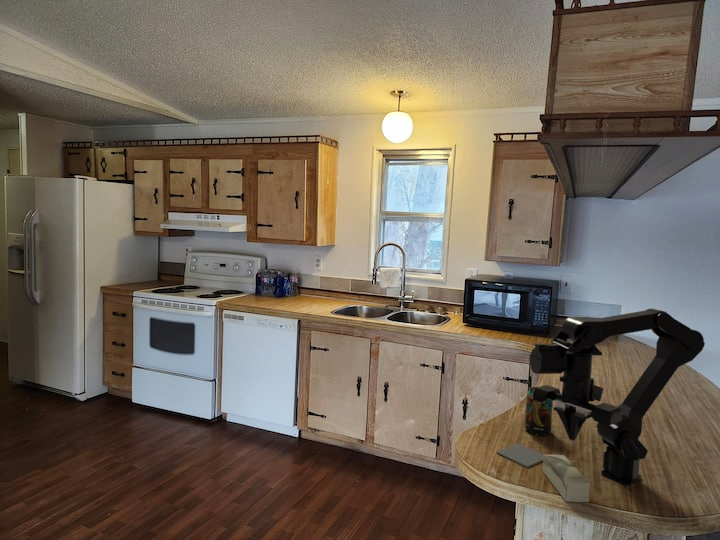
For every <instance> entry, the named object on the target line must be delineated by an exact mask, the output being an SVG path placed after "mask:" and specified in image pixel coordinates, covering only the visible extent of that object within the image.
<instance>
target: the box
mask: <svg viewBox="0 0 720 540" xmlns="http://www.w3.org/2000/svg"><path fill="white" fill-rule="evenodd" d="M542 472H543V473H544V475H545V476H546V478H547V479H548V480H549V481H550V482H551V484H552V486H554V488H555V489H556V490H557V492H558V493H559V495H560V496H561V497H562V498H563V500H564V501H565V502H567V503H589V502H590V494H591V491H590V490H591V483H590V482H589V481H588V480H587V479H586V478H585V477H584V475H582V473H581V472H580V471H579V470H578V469H577V468H576V467H575V466H574V465H573V463H572V462H571V461H570V460H569V459H568V457H566V456H565V455H564V454H563V455H562V454H544V459H543V461H542Z"/></svg>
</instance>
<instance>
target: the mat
mask: <svg viewBox="0 0 720 540" xmlns="http://www.w3.org/2000/svg"><path fill="white" fill-rule="evenodd" d="M497 453H499V454H500V455H499V454H498V455H499V456H501V455H502V457H503V456H504V458H506V459H508V460H509V461H512V462H514V463H516V464H519V465H520V466H523V467H524V468H527V469H528V468H531V467H533V466H535V465H537V464H539V463H543V459H544V455H545V454H543V453H541V452H538V451H537V450H534V449H532V448H529V447H528V446H525V445H523V444H521V443H515V444H513V445H510V446H508V447H506V448H503V449H500V450H498V451H496V454H497Z"/></svg>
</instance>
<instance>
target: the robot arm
mask: <svg viewBox="0 0 720 540" xmlns="http://www.w3.org/2000/svg"><path fill="white" fill-rule="evenodd" d="M648 330H649V331H650V330H651V332H652V333H653V334H655V335H656V336H657V337H658V338H657V341H656V346H655V348H656V349H655V351H656V352H655V356H654V357H653V359H652V360H651V361H650V363H649V364H648V366H647V367H646V369H645V370H644V371H643V373H642V375H641V376H640V377H639V378H638V380H637V382H636V383H635V384H634V386H633V387H632V389H630V391H629V393H628V394H627V396H626V397H625V398H624V399H623V401H622V403H621V404H620V405H618V406H617V405H616V406H615V405H612V404H609V403H606V402H602V403H600V404H592V403H593V402H596V401H597V402H601V400H602V396H603V393H604V388H603V387H601V386H598V385H596V384H595V381H594V378H593V377H592V366H593V356H602V355H603V351H601V350H600V349H598V347H597V346H596V345H599V344H601V343H603V342H604V341H606V339H608V338H611V337H614V336H621V335H626V334H631V333H638V332H644V331H648ZM704 338H705V337H704V336H703V334H702V333H701V332H700V331H699V330H696V329H693V328H690V327H689V326H687V325H686V324H684V323H682V322H680V321H679V320H677V319H676V318H674V317H673V316H672V315H670V314H669V313H668V312H666V311H664V310H661V309H656V308H647V309H645V310H642V311H639V310H638V311H635V312H629V313H624V314H623V313H622V314H618V315H611V316H605V317H591V316H570V317H567V318H566V319H565V321H564V322H563V325H562V327H561V329H560V330H559V331H558V332H557V333H556V334H555V336H554V337H553V339H552V340H551V341H550V343H542V342H535V344H534V348H533V349H532V350H531V352H530V354H529V356H528V357H529V359H528V360H529V361H528V362H529V365H530V366H529V367H530V370H531V372H533V373H534V374H536V375H538V374H540V375H541V374H543V375H547V374H550V375H555V374H556V375H560V374H562V375H561V376H559V382H561V383H562V387H561V390H560V389H559V388H557V387H554V386H551V385H548V384H544V385H541V386H536V387H537V388H535V389H534V390H533V392H532V399H533V400H535V401H538V402H541V403H543V402H545V401H546V400H547V399H550V400H553V402H555V407H553V410H554V411H556V413H557V415H558V416H559V418H560V421H561V423H562V425H563V427H564V429H565V433H566V435H567V437H568V439H569V440H570V441H573V442H574V441H576V439H577V437H578V435H579V433H580V431H581V429H582V427H583V425H584V424H585V422H587V421H586V420H588V419H593V421H594V422H596V423H597V425H596V428H597V429H596V430H597V434H598V435H599V437H600V438H601V440H602V443H603V444H605V445H607V446H606V447H605V448H606V449H605V451H604V452H603V458H602V459H603V461H602V462H603V463H602V469H603V470H601V471H600V473H601V475H603V476H606V477H608V478H609V479H613V480H615V481H617V482H619V483H622V484H624V485H627V486H631V485H633V484H634V483H636V482H638V481H640V480H641V479H642V475H641V474H640V471H639V470H640V461H641V460H645V458H646V456H647V454H648V449H647V448H646V447H645V445H644V444H643V443H642V442H641V441H640V440H639V438H640V436H641V434H642V432H643V429H642V427H643V419H644V417H645V415H646V413H647V412H648V411H649V410H650V408H651V406H652V405H653V404H654V402H655V401H656V400H657V398H658V396H659V395H660V394H661V392H662V391H663V389H664V388H665V387H666V385H667V384H668V382H669V381H670V379H672V377H673V375H674V374H675V372H676V371H677V370H678V369H679V368H680V367H682V366H684V365H686V364H688V363H689V362H693V360H694V359H695V358H696V357H697V356H698V355H699V354H700V353H701V352H702V351H703V349H704V348H705V344H706V343H705V339H704ZM568 341H569V342H568ZM590 402H591V403H590Z"/></svg>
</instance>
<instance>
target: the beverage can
mask: <svg viewBox="0 0 720 540" xmlns="http://www.w3.org/2000/svg"><path fill="white" fill-rule="evenodd" d="M537 387H538V386H532V387H529V391H528V392H527V393H526V398H525V399H526V400H525V402H526V403H525V417H524V428H525V429H526V431H527V432H528V431H529V432H528V433H530V432H531V433H530V434H532V433H533V435H535V434H537V435H536V436H547V435H549V434H550V433H551V431H552V424H553V423H552V420H553V409H554V407H553V405H554V404H553V403H554V401H553V400H550V399H547V400H546V401H545V402H543V403H541V402H538V401H535V400H533V399H532V392H533V390H534V389H535V388H537Z"/></svg>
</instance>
